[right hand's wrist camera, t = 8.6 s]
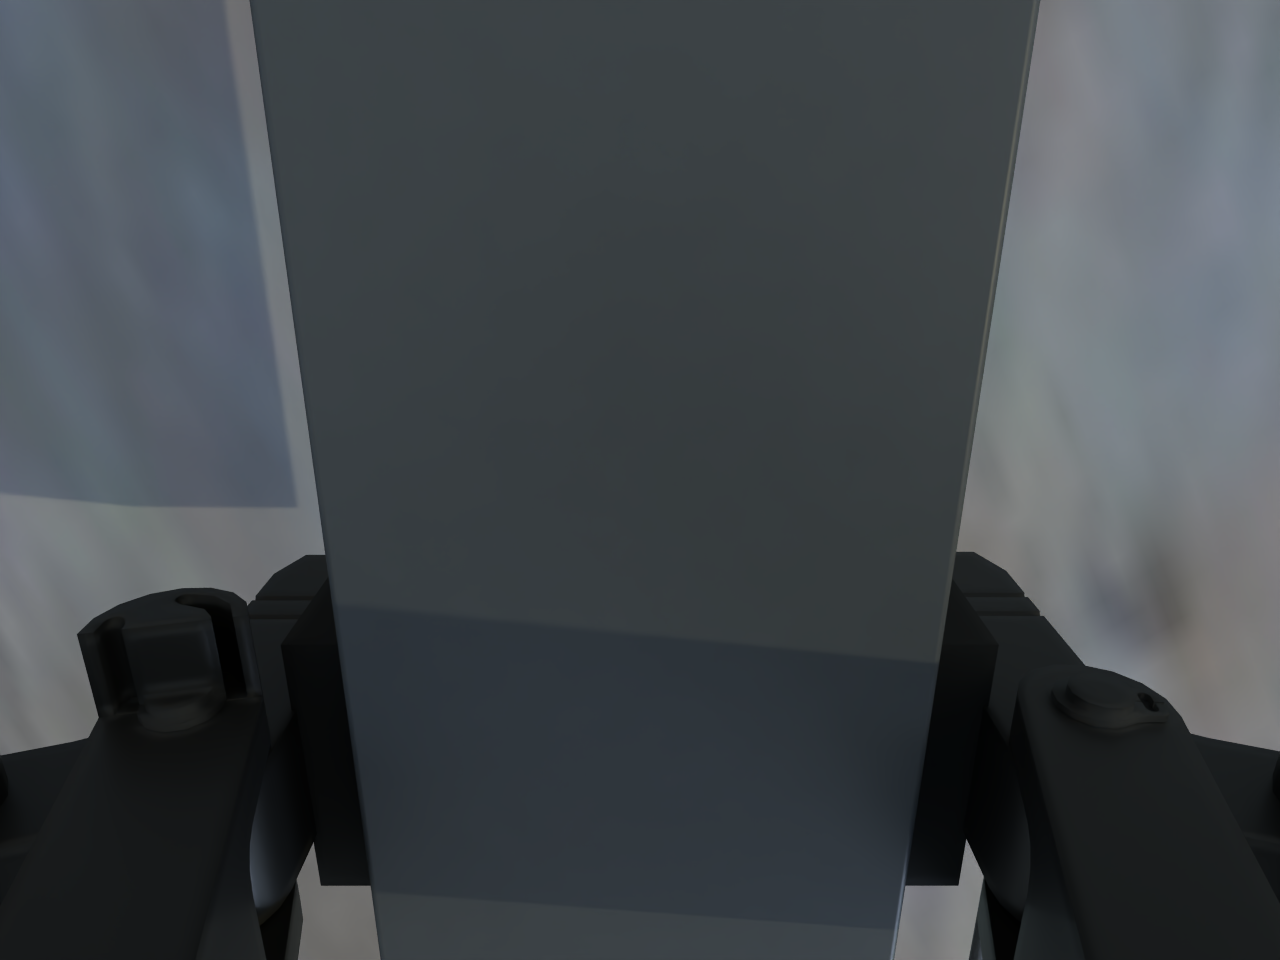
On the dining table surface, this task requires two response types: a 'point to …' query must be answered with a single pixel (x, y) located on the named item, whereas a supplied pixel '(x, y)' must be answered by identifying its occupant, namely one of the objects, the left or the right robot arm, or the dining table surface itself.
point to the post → (641, 445)
